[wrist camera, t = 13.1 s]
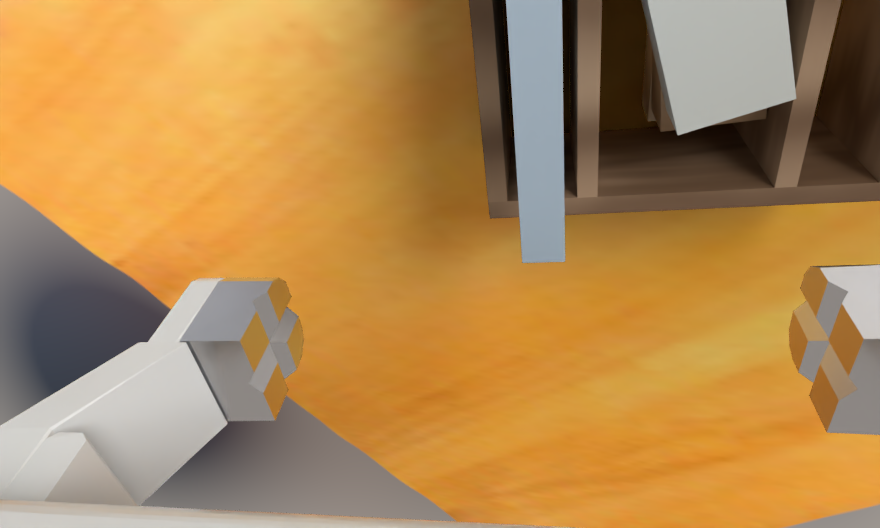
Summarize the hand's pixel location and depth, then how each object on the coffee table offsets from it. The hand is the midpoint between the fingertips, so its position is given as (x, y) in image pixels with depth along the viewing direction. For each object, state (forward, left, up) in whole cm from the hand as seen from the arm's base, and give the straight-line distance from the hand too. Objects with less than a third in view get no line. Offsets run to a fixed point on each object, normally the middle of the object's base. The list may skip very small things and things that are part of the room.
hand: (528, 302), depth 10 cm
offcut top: (0, +7, -23) cm, 24 cm away
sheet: (0, 0, -28) cm, 28 cm away
